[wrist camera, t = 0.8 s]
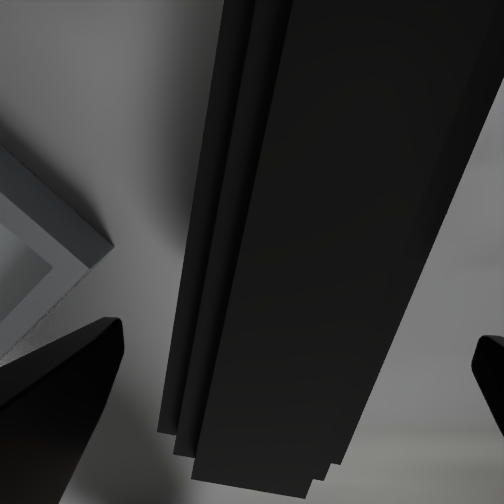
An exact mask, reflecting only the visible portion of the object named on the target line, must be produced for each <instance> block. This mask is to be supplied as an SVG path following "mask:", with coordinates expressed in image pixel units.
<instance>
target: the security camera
mask: <svg viewBox="0 0 504 504" xmlns="http://www.w3.org/2000/svg"><path fill="white" fill-rule="evenodd" d="M503 78H504V0H224V6H223V12H222V18H221V25H220V31H219V38H218V44H217V50H216V57H215V63H214V70H213V76H212V83H211V89H210V95H209V102H208V108H207V115H206V121H205V127H204V134H203V140H202V147H201V153H200V160H199V166H198V172H197V179H196V185H195V192H194V198H193V204H192V211H191V217H190V224H189V230H188V236H187V243H186V249H185V256H184V262H183V269H182V275H181V281H180V288H179V294H178V301H177V307H176V313H175V320H174V326H173V333H172V339H171V345H170V352H169V358H168V365H167V371H166V378H165V384H164V390H163V397H162V403H161V410H160V416H159V422H158V429H157V432H160V433H165V434H171V435H176V441H175V446H174V452H173V454H174V455H180V456H186V457H191V458H195V461H194V466H193V471H192V476H191V479H193V480H199V481H205V482H210V483H216V484H222V485H228V486H233V487H239V488H245V489H251V490H257V491H262V492H268V493H274V494H280V495H285V496H291V497H297V498H303V499H305V498H306V495H307V493H308V490H309V488H310V485H311V482H312V480H313V479H316V480H322V481H324V479H325V477H326V474H327V472H328V469H329V467H330V464H331V463H333V464H338V465H341V462H342V460H343V458H344V455H345V453H346V450H347V448H348V446H349V443H350V441H351V439H352V436H353V434H354V431H355V429H356V427H357V424H358V422H359V420H360V417H361V415H362V412H363V410H364V408H365V405H366V403H367V401H368V398H369V396H370V393H371V391H372V389H373V386H374V384H375V382H376V379H377V377H378V374H379V372H380V370H381V367H382V365H383V363H384V360H385V358H386V355H387V353H388V351H389V348H390V346H391V344H392V341H393V339H394V336H395V334H396V332H397V329H398V327H399V325H400V322H401V320H402V317H403V315H404V313H405V310H406V308H407V306H408V303H409V301H410V299H411V296H412V294H413V291H414V289H415V287H416V284H417V282H418V280H419V277H420V275H421V272H422V270H423V268H424V265H425V263H426V261H427V258H428V256H429V253H430V251H431V249H432V246H433V244H434V242H435V239H436V237H437V234H438V232H439V230H440V227H441V225H442V223H443V220H444V218H445V215H446V213H447V211H448V208H449V206H450V204H451V201H452V199H453V196H454V194H455V192H456V189H457V187H458V185H459V182H460V180H461V177H462V175H463V173H464V170H465V168H466V166H467V163H468V161H469V158H470V156H471V154H472V151H473V149H474V147H475V144H476V142H477V139H478V137H479V135H480V132H481V130H482V128H483V125H484V123H485V120H486V118H487V116H488V113H489V111H490V109H491V106H492V104H493V102H494V99H495V97H496V94H497V92H498V90H499V87H500V85H501V83H502V80H503Z"/></svg>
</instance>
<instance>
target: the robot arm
mask: <svg viewBox="0 0 504 504" xmlns="http://www.w3.org/2000/svg"><path fill="white" fill-rule="evenodd" d="M124 347H125V346H124V336H123V326H122V321H121V319H120V318H114V317H103V318H101V319H99V320H97V321H95V322H93V323H91V324H89V325H86V326H84V327H82V328H80V329H78V330H76V331H74V332H72V333H70V334H68V335H66V336H64V337H62V338H60V339H58V340H55V341H53V342H51V343H49V344H47V345H45V346H43V347H41V348H39V349H37V350H35V351H33V352H31V353H29V354H27V355H25V356H22V357H20V358H18V359H16V360H14V361H12V362H10V363H8V364H6V365H4V366H2V367H0V504H59V502H60V499H61V497H62V495H63V493H64V491H65V489H66V487H67V485H68V483H69V481H70V479H71V477H72V475H73V473H74V471H75V469H76V467H77V464H78V462H79V460H80V458H81V456H82V454H83V452H84V450H85V448H86V446H87V444H88V442H89V440H90V438H91V436H92V434H93V431H94V429H95V427H96V425H97V423H98V421H99V419H100V417H101V415H102V413H103V410H104V408H105V405H106V403H107V400H108V397H109V394H110V392H111V389H112V386H113V383H114V380H115V377H116V375H117V372H118V369H119V366H120V363H121V360H122V358H123V354H124ZM471 367H472V372H473V374H474V377H475V379H476V381H477V383H478V385H479V387H480V389H481V391H482V394H483V396H484V398H485V400H486V402H487V404H488V406H489V409H490V411H491V413H492V415H493V417H494V419H495V421H496V423H497V425H498V427H499V429H500V431H501V433H502V435H503V436H504V337H501V336H494V335H483V336H481V337H480V338H479V340H478V343H477V346H476V349H475V353H474V356H473V359H472V364H471Z"/></svg>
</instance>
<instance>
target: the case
mask: <svg viewBox="0 0 504 504" xmlns="http://www.w3.org/2000/svg"><path fill="white" fill-rule="evenodd" d="M113 248H114V246H113V245H112V244H111V243H109V242H108V241H107V240H106V239H105V238H104V237H103V236H102V235H101V234H99V233H98V232H97V231H96V230H95V229H94V228H93V227H92V226H91V225H89V224H88V223H87V222H86V221H85V220H84V219H83V218H82V217H81V216H79V215H78V214H77V213H76V212H75V211H74V210H73V209H72V208H71V207H69V206H68V205H67V204H66V203H65V202H64V201H63V200H62V199H61V198H59V197H58V196H57V195H56V194H55V193H54V192H53V191H52V190H51V189H49V188H48V187H47V186H46V185H45V184H44V183H43V182H42V181H41V180H39V179H38V178H37V177H36V176H35V175H34V174H33V173H32V172H31V171H29V170H28V169H27V168H26V167H25V166H24V165H23V164H22V163H20V162H19V161H18V160H17V159H16V158H15V157H14V156H13V155H12V154H10V153H9V152H8V151H7V150H6V149H5V148H4V147H3V146H2V145H0V360H1V359H2V358H3V357H4V356H5V355H6V354H7V353H8V352H9V351H10V350H11V349H12V348H13V347H14V346H15V345H16V344H17V343H18V342H19V341H20V340H21V339H22V338H23V337H24V336H25V335H26V334H27V333H28V332H29V331H30V330H31V329H32V328H33V327H34V326H35V325H36V324H37V323H38V322H39V321H40V320H41V319H42V318H43V317H44V316H45V315H46V314H47V313H48V312H49V311H50V310H51V309H52V308H53V307H54V306H55V305H56V304H57V303H58V302H59V301H60V300H61V299H62V298H63V297H64V296H65V295H66V294H67V293H68V292H69V291H70V290H71V289H72V288H73V287H74V286H75V285H76V284H77V283H78V282H79V281H80V280H81V279H82V278H83V277H84V276H85V275H86V274H87V273H88V272H89V271H90V270H91V269H92V268H93V267H94V266H95V265H96V264H97V263H98V262H99V261H100V260H101V259H102V258H103V257H104V256H105V255H106V254H107V253H108V252H109V251H110V250H112V249H113Z"/></svg>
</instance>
